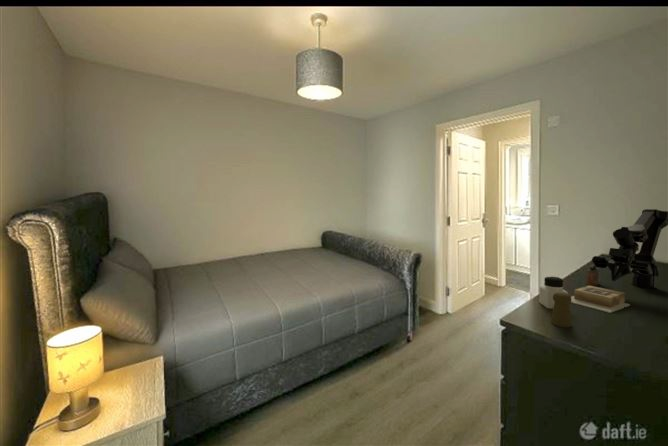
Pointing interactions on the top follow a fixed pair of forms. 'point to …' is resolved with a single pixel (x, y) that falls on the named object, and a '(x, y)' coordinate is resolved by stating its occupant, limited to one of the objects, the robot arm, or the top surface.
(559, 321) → the wooden pepper mill
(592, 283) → the lighter
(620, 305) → the felt mat
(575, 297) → the letter block
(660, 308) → the top surface
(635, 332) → the top surface
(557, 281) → the medicine bottle
